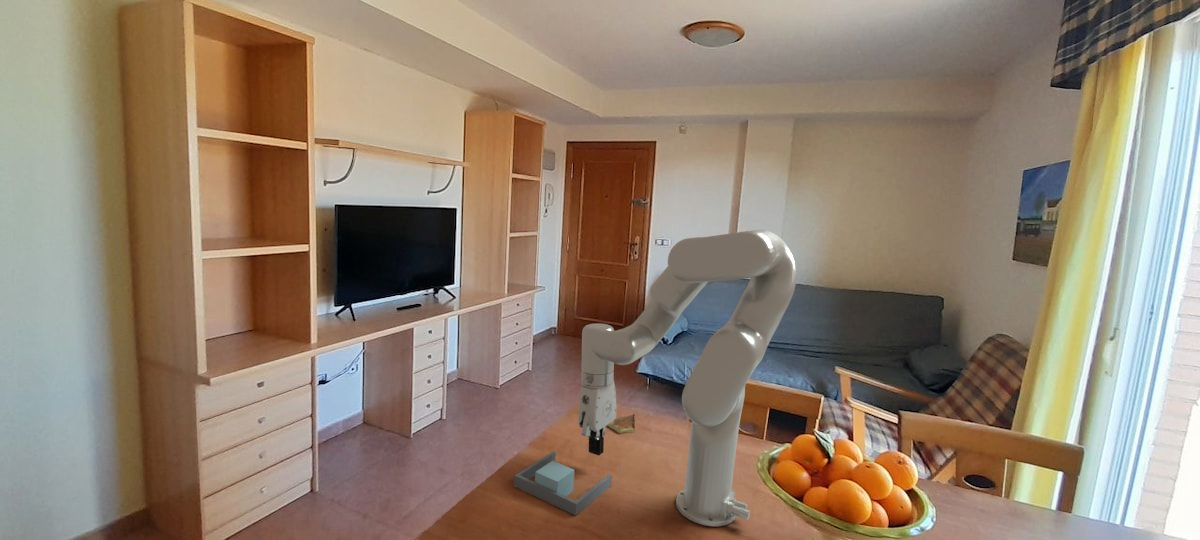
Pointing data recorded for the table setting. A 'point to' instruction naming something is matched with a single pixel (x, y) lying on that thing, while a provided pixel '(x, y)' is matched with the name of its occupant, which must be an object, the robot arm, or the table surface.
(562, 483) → the teal block
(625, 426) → the shard
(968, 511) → the table surface
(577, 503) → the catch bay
